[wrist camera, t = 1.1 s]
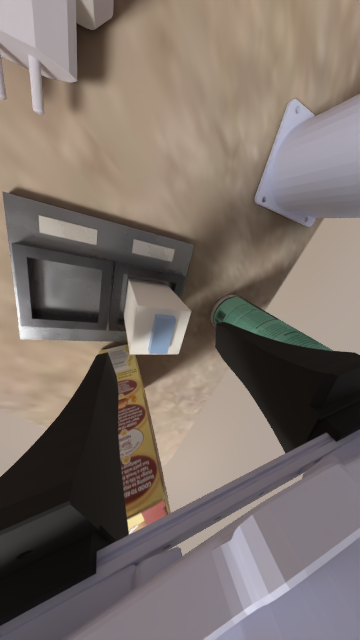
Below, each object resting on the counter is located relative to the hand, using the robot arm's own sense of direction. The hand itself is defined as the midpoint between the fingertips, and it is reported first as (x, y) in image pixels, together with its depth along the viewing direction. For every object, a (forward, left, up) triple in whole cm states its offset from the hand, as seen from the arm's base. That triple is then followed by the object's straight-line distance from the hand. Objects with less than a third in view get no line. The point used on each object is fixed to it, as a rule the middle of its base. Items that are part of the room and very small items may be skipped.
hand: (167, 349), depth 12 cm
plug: (0, 0, -9) cm, 9 cm away
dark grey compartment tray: (+3, -1, -10) cm, 10 cm away
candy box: (+1, +11, -10) cm, 15 cm away
